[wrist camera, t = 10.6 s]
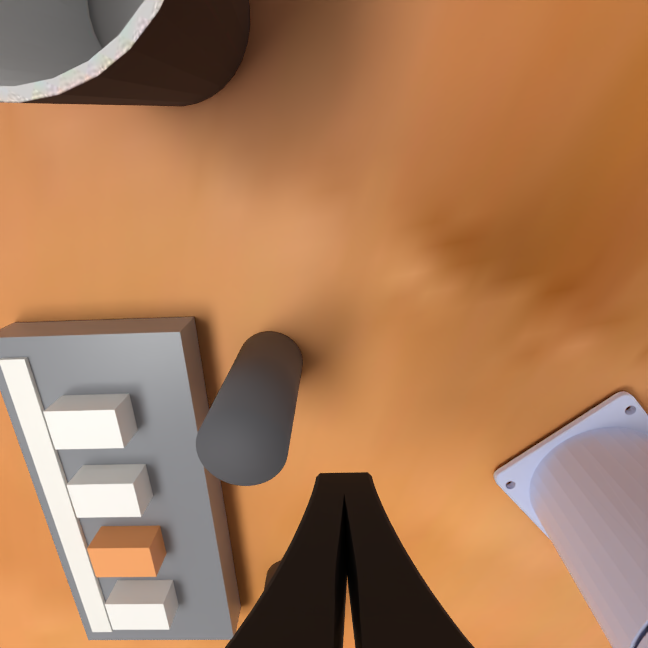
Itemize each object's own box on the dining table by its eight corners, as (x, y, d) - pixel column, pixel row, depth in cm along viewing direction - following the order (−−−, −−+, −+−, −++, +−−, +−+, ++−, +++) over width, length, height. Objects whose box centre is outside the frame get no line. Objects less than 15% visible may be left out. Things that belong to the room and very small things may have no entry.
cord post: (315, 363, 21) (306, 452, 15) (270, 400, 22) (243, 500, 15) (270, 318, 20) (240, 391, 14) (225, 358, 21) (176, 445, 15)
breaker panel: (13, 322, 21) (-45, 350, 18) (194, 316, 20) (168, 344, 17) (105, 608, 28) (75, 665, 25) (240, 607, 27) (228, 665, 24)
